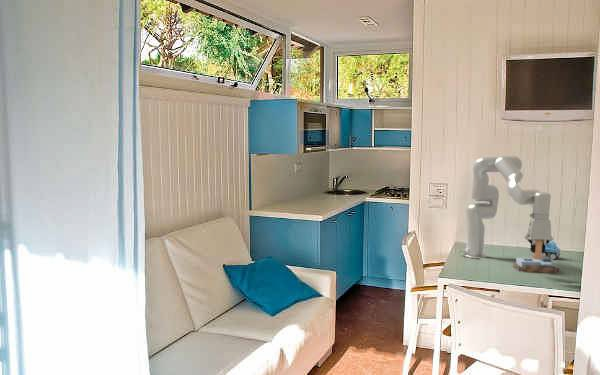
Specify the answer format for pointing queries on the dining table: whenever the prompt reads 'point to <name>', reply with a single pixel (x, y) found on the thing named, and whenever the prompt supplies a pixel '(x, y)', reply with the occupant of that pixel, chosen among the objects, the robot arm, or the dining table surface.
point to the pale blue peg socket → (536, 262)
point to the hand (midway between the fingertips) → (537, 251)
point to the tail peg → (538, 249)
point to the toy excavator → (551, 250)
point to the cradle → (537, 269)
